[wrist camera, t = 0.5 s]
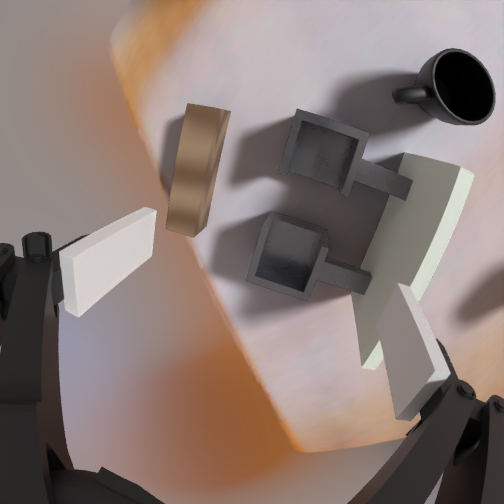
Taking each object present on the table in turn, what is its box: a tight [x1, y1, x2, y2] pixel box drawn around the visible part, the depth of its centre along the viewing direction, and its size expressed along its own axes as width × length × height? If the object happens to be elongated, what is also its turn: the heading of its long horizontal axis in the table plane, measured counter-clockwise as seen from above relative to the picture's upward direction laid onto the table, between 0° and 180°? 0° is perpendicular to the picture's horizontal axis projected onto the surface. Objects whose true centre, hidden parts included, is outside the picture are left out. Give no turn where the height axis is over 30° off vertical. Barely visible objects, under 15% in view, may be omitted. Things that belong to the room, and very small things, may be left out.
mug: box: [392, 48, 495, 125], centre depth 24 cm, size 8×12×10 cm
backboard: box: [351, 152, 475, 371], centre depth 29 cm, size 20×2×16 cm, turn 165°
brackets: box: [246, 109, 413, 301], centre depth 34 cm, size 20×14×7 cm
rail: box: [166, 103, 231, 238], centre depth 36 cm, size 16×4×5 cm, turn 166°
